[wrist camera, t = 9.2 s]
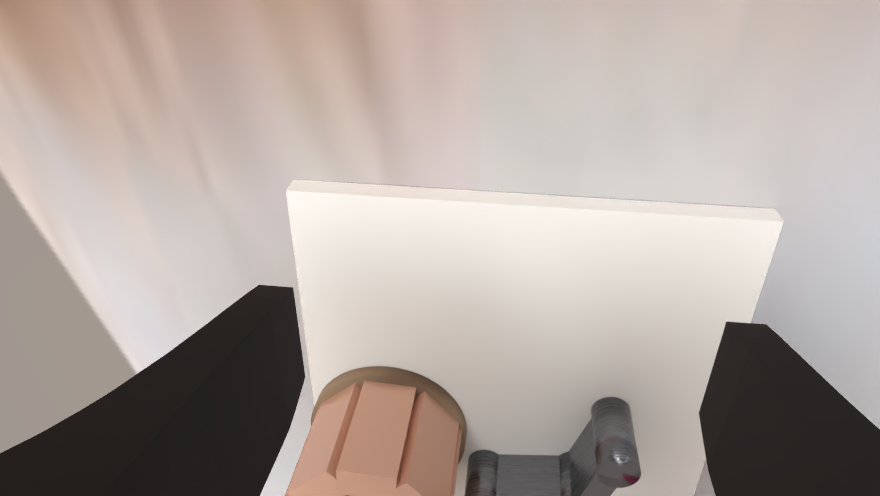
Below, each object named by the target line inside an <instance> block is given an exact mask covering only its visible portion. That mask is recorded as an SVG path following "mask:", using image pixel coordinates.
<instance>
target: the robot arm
mask: <svg viewBox="0 0 880 496" xmlns="http://www.w3.org/2000/svg"><path fill="white" fill-rule="evenodd" d="M304 379H305V372H304V365H303V358H302V350H301V343H300V336H299V328H298V321H297V314H296V307H295V299H294V292H293V288H291V287H278V286H265V285H258V286H257V287H255V288H254V289H252V290H251V291H250V292H248V293H247V294H246V295H244V296H243V297H242V298H240V299H239V300H238V301H236V302H235V303H234V304H232V305H231V306H230V307H228V308H227V309H226V310H225V311H223V312H222V313H221V314H219V315H218V316H217V317H215V318H214V319H213V320H212V321H210V322H209V323H208V324H206V325H205V326H204V327H202V328H201V329H200V330H198V331H197V332H196V333H194V334H193V335H192V336H190V337H189V338H188V339H186V340H185V341H183V342H182V343H181V344H179V345H178V346H177V347H175V348H174V349H173V350H171V351H170V352H169V353H167V354H166V355H164V356H163V357H161V358H160V359H159V360H157V361H156V362H154V363H153V364H151V365H150V366H148V367H147V368H145V369H144V370H142V371H141V372H139V373H138V374H137V375H135V376H134V377H132V378H131V379H129V380H128V381H126V382H125V383H123V384H122V385H120V386H119V387H117V388H116V389H114V390H113V391H112V392H110V393H108V394H107V395H105V396H103V397H102V398H100V399H99V400H97V401H95V402H94V403H92V404H90V405H89V406H87V407H86V408H84V409H82V410H80V411H79V412H77V413H75V414H73V415H72V416H70V417H68V418H66V419H65V420H63V421H61V422H59V423H58V424H56V425H54V426H52V427H51V428H49V429H47V430H46V431H43V432H42V433H40V434H38V435H36V436H34V437H32V438H30V439H28V440H26V441H24V442H22V443H20V444H18V445H16V446H14V447H12V448H10V449H9V450H6V451H4V452H2V453H0V496H260V494H261V492H262V489H263V487H264V485H265V483H266V481H267V478H268V476H269V474H270V472H271V470H272V467H273V465H274V463H275V461H276V458H277V456H278V454H279V452H280V449H281V447H282V445H283V443H284V440H285V438H286V436H287V433H288V431H289V429H290V426H291V422H292V419H293V416H294V413H295V410H296V407H297V403H298V400H299V396H300V393H301V389H302V386H303V382H304ZM699 417H700V424H701V430H702V437H703V443H704V449H705V455H706V460H707V466H708V471H709V474H710V478H711V481H712V485H713V488H714V491H715V494H716V496H880V430H879V429H878V428H877V427H876V426H875V425H874V424H873V423H872V422H870V421H869V420H868V419H867V418H866V417H865V416H864V415H863V414H862V413H860V412H859V411H858V410H857V409H856V408H855V407H854V406H853V405H852V404H851V403H849V402H848V401H847V400H846V399H845V398H844V397H843V396H842V395H841V394H840V393H839V392H838V391H837V390H835V389H834V388H833V387H832V386H831V385H830V384H829V383H828V382H827V381H826V380H825V379H824V378H823V377H822V376H821V375H820V374H819V373H817V372H816V371H815V370H814V369H813V368H812V367H811V366H810V365H809V364H808V363H807V362H806V361H805V360H804V359H803V358H802V357H801V356H800V355H799V354H798V353H796V352H795V351H794V350H793V349H792V348H791V347H790V346H789V345H788V344H787V343H786V342H785V341H784V340H783V339H782V338H781V337H779V336H778V335H777V334H776V333H775V332H774V331H773V330H772V329H771V328H769V327H768V326H767V325H766V324H753V323H740V322H727V321H726V324H725V328H724V331H723V334H722V338H721V341H720V344H719V348H718V351H717V354H716V358H715V361H714V364H713V367H712V371H711V374H710V377H709V381H708V384H707V387H706V391H705V394H704V397H703V401H702V404H701V407H700V411H699Z"/></svg>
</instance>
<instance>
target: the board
mask: <svg viewBox="0 0 880 496" xmlns="http://www.w3.org/2000/svg"><path fill="white" fill-rule="evenodd" d="M286 195H287V203H288V210H289V218H290V226H291V233H292V241H293V248H294V256H295V264H296V271H297V279H298V286H299V294H300V302H301V309H302V317H303V324H304V332H305V340H306V347H307V355H308V362H309V370H310V378H311V385H312V393H313V400H314V407H315V404H316V402H317V399H318V397H319V395H320V393H321V391H322V390H323V388H324V387H325V386H326V385H327V384H328V383H329V382H330V381H331V380H333V379H334V378H336V377H337V376H339V375H340V374H343V373H345V372H347V371H350V370H353V369H357V368H362V367H370V366H388V367H395V368H401V369H405V370H409V371H412V372H415V373H418V374H420V375H422V376H424V377H427V378H429V379H430V380H432V381H434V382H435V383H437V384H438V385H440V386H441V387H442V388H444V389H445V390H446V391H447V392H448V393H449V394H450V395H451V396H452V397H453V398H454V399H455V401H456V402H457V403H458V405H459V406H460V408H461V410H462V412H463V414H464V417H465V421H466V426H467V434H466V443H465V450H464V454H463V457H462V459H461V460H460V462H459V464H458V470H457V478H456V486H455V494H454V496H464V494H465V485H466V475H467V466H468V458H469V456H470V455H471V454H472V453H473V452H475V451H477V450H491V451H494V452H496V453H497V454H509V455H557V456H559V455H561V454H562V453H565V452H569V450H570V449H571V447H572V446H573V444H574V443H575V441H576V440H577V439H578V437H579V436H580V434H581V433H582V431H583V430H584V428H585V427H586V425H587V424H588V422H589V421H590V420H591V407H592V405H593V404H594V403H595V402H596V401H598V400H599V399H602V398H605V397H617V398H620V399H622V400H624V401H625V402H627V403H628V405H629V407H630V410H631V416H632V422H633V428H634V434H635V440H636V446H637V451H638V457H639V463H640V469H641V477H640V479H639V480H638V481H637V482H636V483H635V484H633V485H631V486H628V487H624V488H616V489H615V491H614V492H613V493H612V495H611V496H694V494H695V491H696V488H697V485H698V482H699V479H700V476H701V473H702V470H703V467H704V464H705V461H706V455H705V449H704V443H703V437H702V430H701V424H700V417H699V411H700V407H701V404H702V401H703V397H704V394H705V391H706V387H707V384H708V381H709V377H710V374H711V371H712V367H713V364H714V361H715V358H716V354H717V351H718V348H719V344H720V341H721V338H722V334H723V331H724V328H725V324H726V321H727V322H740V323H751V320H752V317H753V314H754V311H755V308H756V305H757V302H758V299H759V296H760V293H761V290H762V287H763V284H764V281H765V278H766V274H767V271H768V268H769V265H770V262H771V259H772V256H773V253H774V250H775V247H776V244H777V241H778V238H779V235H780V232H781V229H782V226H783V223H784V221H783V220H782V218H781V217H780V215H779V214H778V212H777V211H776V209H769V208H753V207H736V206H720V205H703V204H687V203H671V202H654V201H638V200H622V199H605V198H589V197H572V196H556V195H540V194H523V193H507V192H490V191H474V190H458V189H441V188H425V187H408V186H392V185H376V184H359V183H343V182H327V181H310V180H293V181H292V183H291V184H290V185H289V187H288V188H287V190H286Z"/></svg>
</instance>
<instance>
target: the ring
mask: <svg viewBox="0 0 880 496" xmlns="http://www.w3.org/2000/svg"><path fill="white" fill-rule="evenodd" d="M458 427H459V422H458V421H457V420H456V419H455V418H454V417H453V416H452V415H451V414H449V413H448V412H447V411H446V410H445V409H444V408H443V407H442V406H441V405H440V404H438V403H437V402H436V401H435V400H434V399H433V398H432V397H431V396H430V395H429V394H427V393H426V392H425V391H424V392H423V393H421V394H419V395H417V396H416V387H410V386H402V385H395V384H387V383H379V382H372V381H364V383H363V387H361V386H360V385H358V384H357V383H356V382H355V383H353V384H352V385H350V386H349V387H347V388H345V389H344V390H342V391H341V392H339V393H337V394H336V395H334V396H333V397H331V398H329V399H328V400H326V401H325V402H323V403H321V405H320V408H319V409H318V410H317V413H316V416H315V418H314V421H313V423H312V426H311V429H310V431H309V434H308V437H307V439H306V442H305V444H304V447H303V450H302V452H301V455H300V458H299V460H298V463H297V465H296V468H295V471H294V473H293V476H292V479H291V481H290V484H289V486H288V489H287V492H286V494H285V496H346V495H348V496H454V494H455V486H456V478H457V470H458V461H459V452H460V443H461V434H462V429H459V428H458Z"/></svg>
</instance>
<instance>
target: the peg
mask: <svg viewBox="0 0 880 496" xmlns="http://www.w3.org/2000/svg"><path fill="white" fill-rule="evenodd" d="M364 381H372V382H379V383H387V384H395V385H402V386H410V387H416V396H417V395H419V394H421V393H423V392H424V391H425V392H426V393H427V394H429V395H430V396H431V397H432V398H433V399H434V400H435V401H436V402H437V403H438V404H440V405H441V406H442V407H443V408H444V409H445V410H446V411H447V412H448V413H449V414H451V415H452V416H453V417H454V418H455V419H456V420H457V421H458V422H459V427H458V428H459V429H462V434H461V443H460V452H459V461H458V464H459V462H460V460H461V459H462V457H463V454H464V450H465V443H466V434H467V426H466V421H465V417H464V414H463V412H462V410H461V408H460V406H459V405H458V403H457V402H456V401H455V399H454V398H453V397H452V396H451V395H450V394H449V393H448V392H447V391H446V390H445V389H444V388H442V387H441V386H440V385H438V384H437V383H435V382H434V381H432V380H430V379H429V378H427V377H424V376H422V375H420V374H418V373H415V372H412V371H409V370H405V369H401V368H395V367H388V366H370V367H362V368H357V369H353V370H350V371H347V372H345V373H343V374H340V375H339V376H337V377H336V378H334V379H333V380H331V381H330V382H329V383H328V384H327V385H326V386H325V387H324V388H323V390H322V391H321V393H320V395H319V397H318V399H317V402H316V404H315V407H314V410H313V413H312V418H311V426H312V423H313V421H314V418H315V416H316V413H317V410H318V409H319V408H320V405H321V403H323V402H325V401H326V400H328V399H329V398H331V397H333V396H334V395H336V394H337V393H339V392H341V391H342V390H344V389H345V388H347V387H349V386H350V385H352V384H353V383H355V382H356V383H357V384H358V385H360V386H361V387H363V383H364ZM346 496H348V495H346Z"/></svg>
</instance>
